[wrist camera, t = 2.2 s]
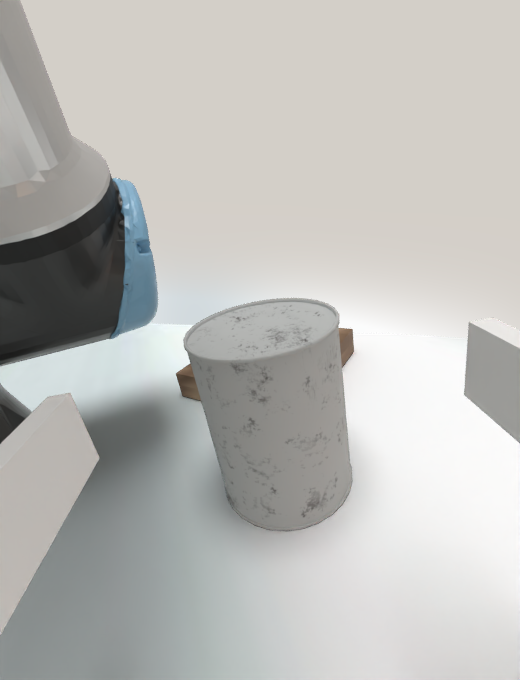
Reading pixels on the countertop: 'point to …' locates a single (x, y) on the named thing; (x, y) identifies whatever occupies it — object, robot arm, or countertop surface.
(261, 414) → the speckled white cylinder
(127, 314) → the robot arm
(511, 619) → the countertop surface
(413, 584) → the countertop surface
